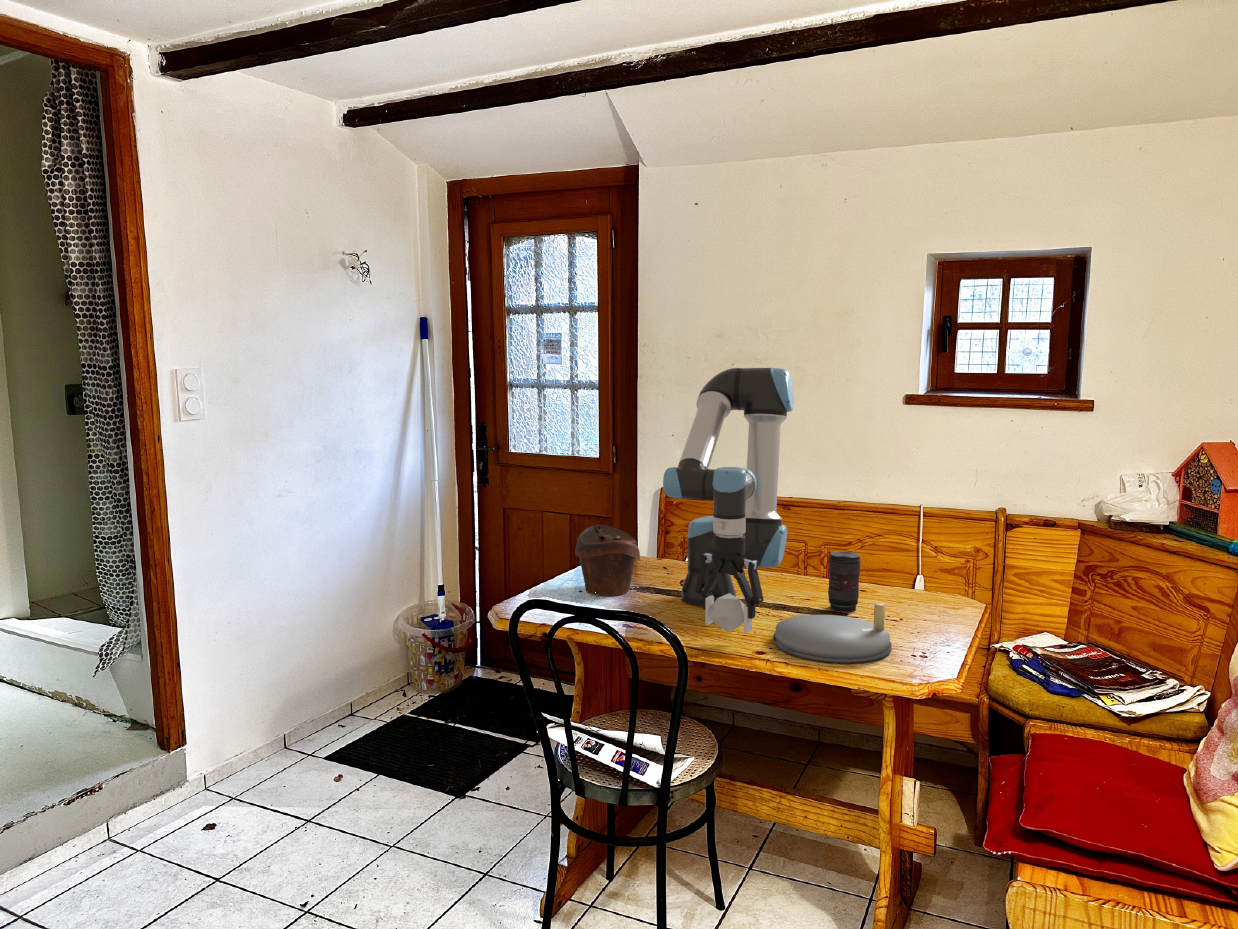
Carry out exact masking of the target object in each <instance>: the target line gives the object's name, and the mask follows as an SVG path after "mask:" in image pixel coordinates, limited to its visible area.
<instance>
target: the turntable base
mask: <svg viewBox="0 0 1238 929" xmlns="http://www.w3.org/2000/svg"><path fill="white" fill-rule="evenodd" d="M772 642H773V643H772V644H774V646H775V647H776V648H777V649H778V650H779V651H781V652H782V653H785V654H787V655H789V656H792V657H794V658H797V659H800V660H805V661H809V662H814V663H819V664H820V663H821V664H829V665H830V664H831V665H861V664H868V663H874V662H878V661H880V660H883V659H886V658H887V657H888V656H889V655H890V654H891V653H892V647H893V646H892V642H891V641H890V642H889V648H888V649H887V650H886V651H885V652H883V653H881V654H878V655H875V656H871V657H865V658H855V659H835V658H824V657H817V656H811V655H807V654H803V653H799V652H796V651H793V650H791V649H788V648H786V647H784V646H783V645H781V644H780V643H779V642H778V641H777V640H776V637H775V632H774V633H773V638H772Z"/></svg>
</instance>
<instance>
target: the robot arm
mask: <svg viewBox="0 0 1238 929" xmlns="http://www.w3.org/2000/svg"><path fill="white" fill-rule="evenodd" d="M794 400H795V399H794V388H793V382H792V378H791V375H790V372H789V371H788V370H787V369H785V368H777V367H744V368H742V367H731V368H728V369H726V370H723V371H721V372H718V374H716V375H714V376H713V377H712V378H711V379H710V380H709V381H708V382H707V383H706V384H704V386H703V387H702V388H701V391H700V392H699V394H698V396H697V399H696V408H697V410H696V414H695V416H694V419H693V422H692V426H691V427H690V430H689V433H688V436H687V439H686V441H685V442H686V443H685V444H684V448H683V451H682V453H681V457H680V459H679V462H678V464H677V467H676V466H673V467H668V468H666V469H665V471H664V474H663V480H662V486H663V487H662V488H663V492H664V494H665V495H666V496H667V497H669V498H674V499H681V500H683V499H686V500H707V501H712V502H713V503H712V508H713V509H712V512H713V513H712V515H708V516H703V517H702V516H701V517H698V518H695V519H693V520H691V521H690V522H689V523H688V530H687V532H688V533H687V537H686V538H687V573H686V576H685V578H684V582H683V585H682V587H681V588H682V589H681V591H680V592H681V593H680V594H681V595H680V596H681V598H680V599H681V600H682V602H684V603H686V604H689V605H692V606H696V607H702V609H703V610H704V612H705V615H704V616H705V619H704V620H705V624H704V625H707V626H709V625H711V624H713V623H715V622H714V621H712V620H711V619H710V618H711V609H712V604H713V603H714V602H715V601H716V600H717V598H719V597H722V596H724V595H726V594H729V593H730V594H732V595H733V596H735V597H737V592H736V588H735V585H734V582H733V579H732V576H733V578H734V580H736V582H737V584H738V587H739V589H740V592H741V593H742V596H743V598H744V601H745V603H746V604H745V605H744V623H743V633H744V634H747V633H748V634H749V633H750V632H751V631H752V630H753V619H754V618H756V607H757V606H756V605H759V604H761V603H763V602H764V596H763V590H762V586H761V581H760V578H759V577H760V576H759V572H758V568H759V569H764V568H771V569H772V568H777V567H778V566H779V565H780V564H781V562H782V560H783V558H784V554H785V550H786V544H787V539H788V538H787V537H788V528H787V526H786V525H785V524H782V520H783V519H782V517H781V516H780V515H779V514H778V512H777V509H778V508H777V506H778V505H777V504H778V488H779V487H778V486H779V483H778V482H779V469H780V468H779V465H780V444H781V443H780V442H781V428H782V427H781V425H782V423H783V422H785V420H787V418H788V413H790V412H792V411H793V410H794V404H795V403H794ZM732 411H743V417H744V419H745V420H746V421H747V422H748V433H747V435H748V436H747V457H746V468H745V467H744V468H743V467H737V466H724V467H723V466H722V467H717V468H716V469H715V468H713V469H712V468H709V467H710V464H711V461H712V458H713V456H714V452H715V449H716V445H717V443H718V439H719V436H720V433H721V431H722V427H723V424H724V421H725V419H726V418H727V417H728V416H729V415H730V413H731V412H732ZM744 567H745V569H746V570H747V575H748V579H749V581H748V579H747V577H746V572H745V570H744Z"/></svg>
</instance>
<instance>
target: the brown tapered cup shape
mask: <svg viewBox="0 0 1238 929" xmlns="http://www.w3.org/2000/svg"><path fill="white" fill-rule="evenodd" d="M577 536H578V537H577V540H576V541H577V542H576V546H575V549H574V551H575V552H574V555H575V557H577V558H579V564H580V567H581V572H582V573H581V574H582V577H583V582H584V587H585V591H586V593H587V594H588V595H592V596H597V597H618V596H622V595H625V594H627V593H628V592H629V590H630V588H631V582H632V578H633V572H634V568H635V567H636V565H635V562H636V560H637V561H639V562H641V554H640V549H639V546H638V542H637V540H636V539H635V538H634V537H633V536H631V535H630V534H628V533H627V532H625V531H623V530H621V529H619V528H616V527H613V526H610V525H605V524H595V525H591V526H589V527H586V528H585V529H583V530H582V531H581V533H579V534H578V535H577ZM595 592H596V593H595Z"/></svg>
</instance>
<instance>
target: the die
mask: <svg viewBox="0 0 1238 929" xmlns="http://www.w3.org/2000/svg"><path fill="white" fill-rule="evenodd" d="M744 605H746V604H745V603H744V602H743V601H742V600H741V599H740V598H738V597H737V596H736V597H735V596H733V595H732V594H730V593H729V594H726V595H724V596H722V597H719V598H717V600H716V601H715V602H714V603H713V604H712V609H711V618H710V619H711V620H712V621H714V622H713V623H714V624H716V625H717V626H718V627H719V628H721V629H722V630H724V631H725V632H726V633H729V632H732V631H733V630H736V629H737V628H740V627H741V626H742V625H744Z"/></svg>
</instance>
